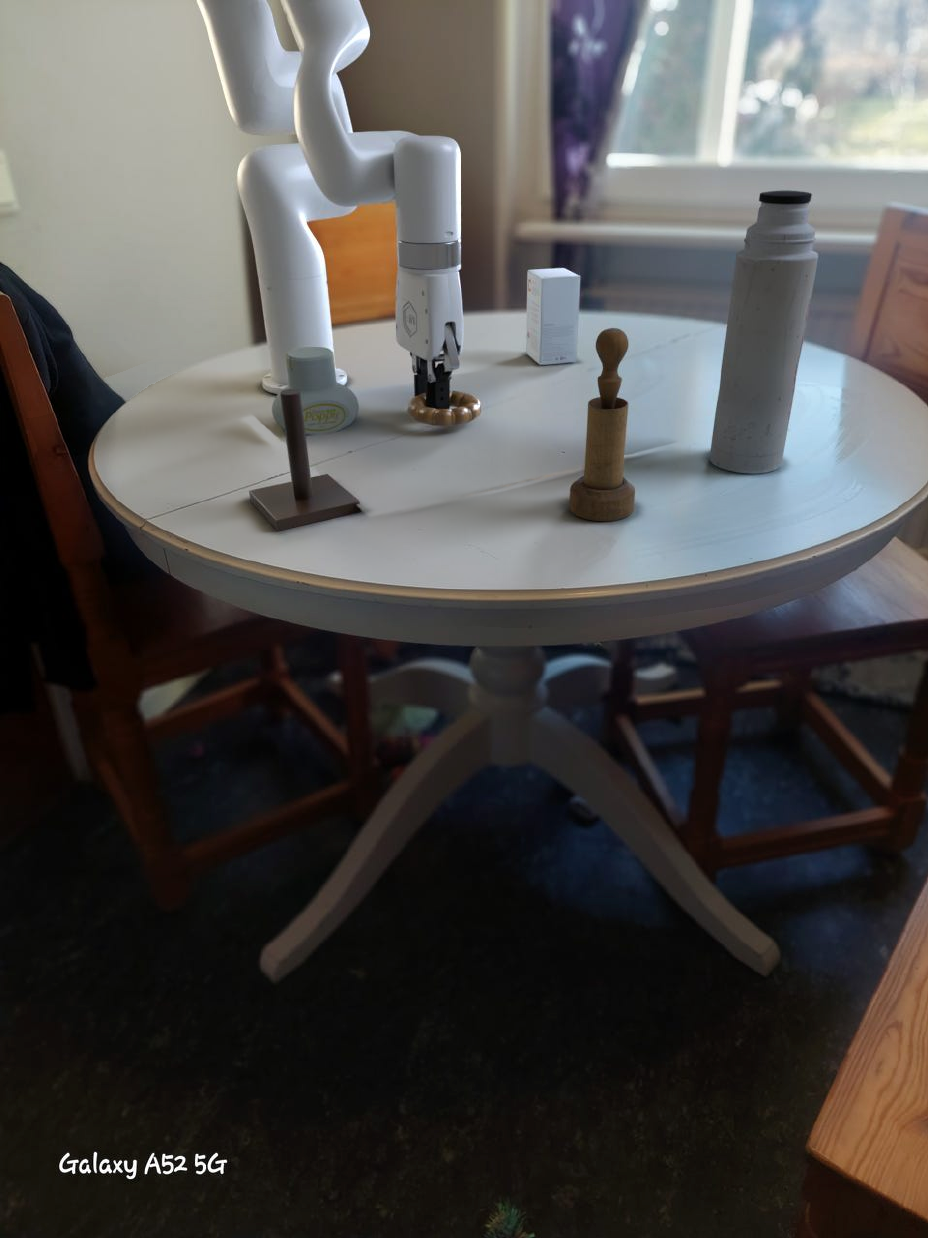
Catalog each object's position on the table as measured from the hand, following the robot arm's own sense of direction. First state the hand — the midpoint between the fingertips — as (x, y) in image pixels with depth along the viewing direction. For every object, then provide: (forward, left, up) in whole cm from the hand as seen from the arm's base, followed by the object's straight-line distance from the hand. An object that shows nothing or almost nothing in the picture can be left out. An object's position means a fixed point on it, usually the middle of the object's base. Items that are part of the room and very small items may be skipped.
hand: (432, 405), depth 113 cm
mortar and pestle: (+33, +2, -3) cm, 34 cm away
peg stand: (+16, -24, -2) cm, 29 cm away
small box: (-19, +31, -3) cm, 36 cm away
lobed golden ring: (+3, 0, +1) cm, 3 cm away
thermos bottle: (+31, +24, -3) cm, 40 cm away
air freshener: (-6, -14, -3) cm, 15 cm away
